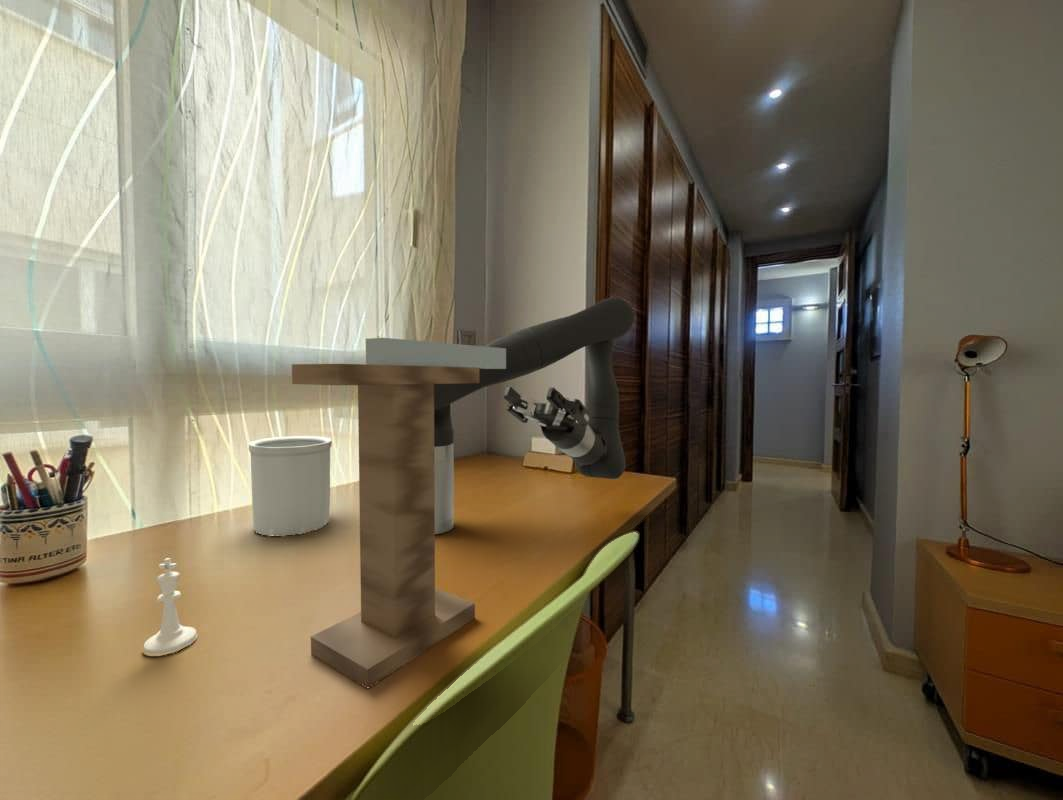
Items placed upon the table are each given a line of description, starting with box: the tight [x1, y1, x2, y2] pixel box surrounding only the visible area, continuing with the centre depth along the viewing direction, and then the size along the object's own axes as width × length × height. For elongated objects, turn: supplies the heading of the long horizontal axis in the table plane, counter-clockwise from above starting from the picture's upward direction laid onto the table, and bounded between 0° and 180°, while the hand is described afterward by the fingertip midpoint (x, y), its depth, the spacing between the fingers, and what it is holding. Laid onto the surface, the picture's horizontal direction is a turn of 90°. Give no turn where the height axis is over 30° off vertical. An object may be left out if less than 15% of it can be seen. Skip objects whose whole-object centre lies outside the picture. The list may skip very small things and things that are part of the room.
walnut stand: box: [291, 363, 479, 688], centre depth 54 cm, size 20×10×32 cm, turn 146°
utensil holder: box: [248, 435, 333, 537], centre depth 93 cm, size 15×15×18 cm
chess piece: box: [143, 557, 198, 655], centre depth 52 cm, size 5×5×10 cm
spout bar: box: [365, 337, 506, 369], centre depth 59 cm, size 22×3×3 cm, turn 146°
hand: (527, 392), depth 75 cm, fingers open, 8 cm apart
